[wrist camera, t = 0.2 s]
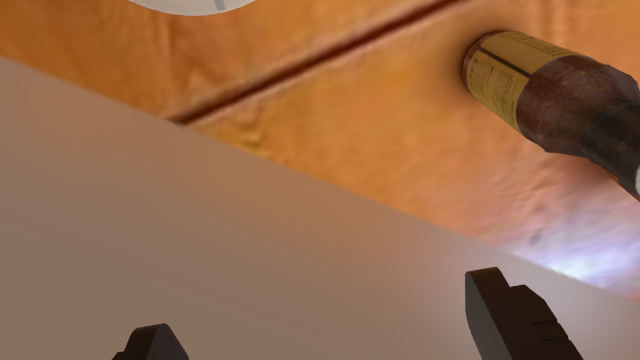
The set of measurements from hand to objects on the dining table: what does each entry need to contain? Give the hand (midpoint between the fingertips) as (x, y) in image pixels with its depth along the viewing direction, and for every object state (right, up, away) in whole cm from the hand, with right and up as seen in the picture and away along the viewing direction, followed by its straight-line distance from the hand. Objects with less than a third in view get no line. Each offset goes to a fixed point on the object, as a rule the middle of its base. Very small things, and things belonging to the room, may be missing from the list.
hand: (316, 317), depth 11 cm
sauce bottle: (+16, +14, +25) cm, 33 cm away
